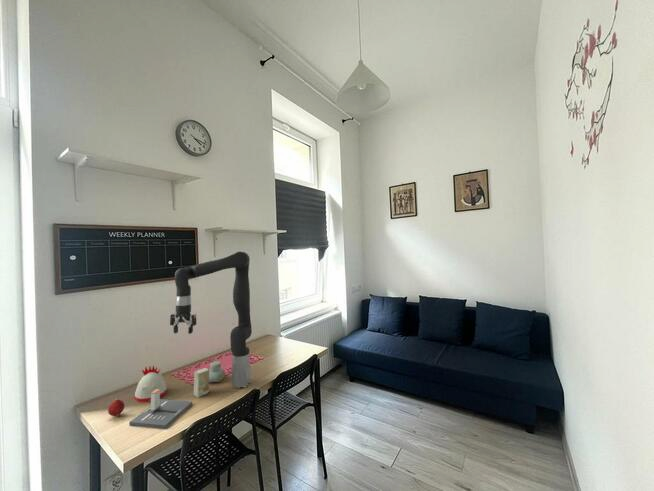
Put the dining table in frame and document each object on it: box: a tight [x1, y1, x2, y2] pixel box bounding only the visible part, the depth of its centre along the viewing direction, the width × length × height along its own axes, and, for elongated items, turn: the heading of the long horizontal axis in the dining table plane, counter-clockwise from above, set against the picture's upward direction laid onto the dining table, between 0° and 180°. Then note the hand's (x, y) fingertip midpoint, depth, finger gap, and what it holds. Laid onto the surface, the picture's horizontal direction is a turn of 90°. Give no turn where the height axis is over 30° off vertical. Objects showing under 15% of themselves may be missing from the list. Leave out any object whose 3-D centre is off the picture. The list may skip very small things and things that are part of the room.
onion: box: [107, 398, 125, 418], centre depth 121 cm, size 6×6×8 cm
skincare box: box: [193, 367, 210, 398], centre depth 140 cm, size 6×4×12 cm
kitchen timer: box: [134, 364, 168, 403], centre depth 139 cm, size 14×14×15 cm
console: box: [128, 398, 193, 430], centre depth 122 cm, size 17×18×2 cm
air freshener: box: [209, 361, 226, 383], centre depth 155 cm, size 11×8×10 cm
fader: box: [149, 389, 161, 413], centre depth 123 cm, size 2×5×8 cm, turn 173°
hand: (183, 333), depth 146 cm, fingers open, 8 cm apart
